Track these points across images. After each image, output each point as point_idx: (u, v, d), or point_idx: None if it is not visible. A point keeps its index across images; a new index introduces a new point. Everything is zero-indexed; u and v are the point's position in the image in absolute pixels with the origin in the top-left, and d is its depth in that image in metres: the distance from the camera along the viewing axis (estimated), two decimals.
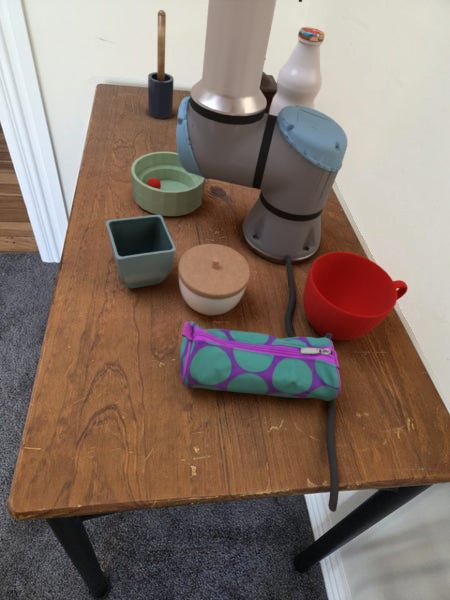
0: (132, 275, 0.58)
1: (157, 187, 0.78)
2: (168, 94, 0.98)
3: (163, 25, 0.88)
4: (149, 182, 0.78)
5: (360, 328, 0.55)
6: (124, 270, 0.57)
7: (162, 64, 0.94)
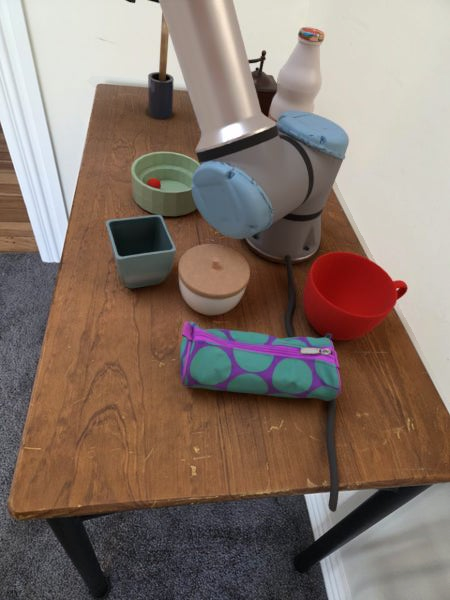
0: (132, 275, 0.58)
1: (157, 187, 0.78)
2: (168, 94, 0.98)
3: None
4: (149, 182, 0.78)
5: (360, 328, 0.55)
6: (124, 270, 0.57)
7: (164, 62, 0.95)
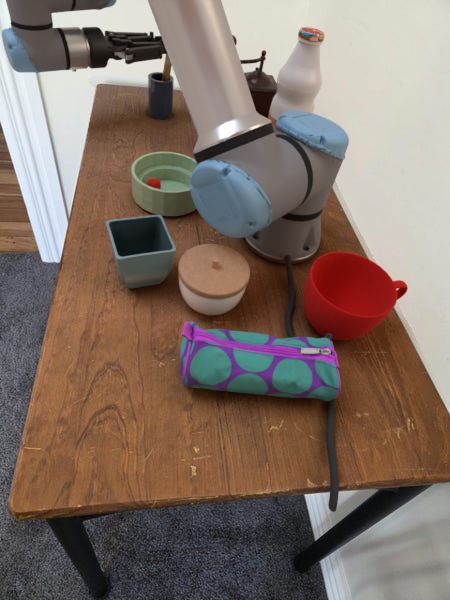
0: (132, 275, 0.58)
1: (157, 187, 0.78)
2: (168, 94, 0.98)
3: None
4: (149, 182, 0.78)
5: (360, 328, 0.55)
6: (124, 270, 0.57)
7: (169, 64, 0.95)
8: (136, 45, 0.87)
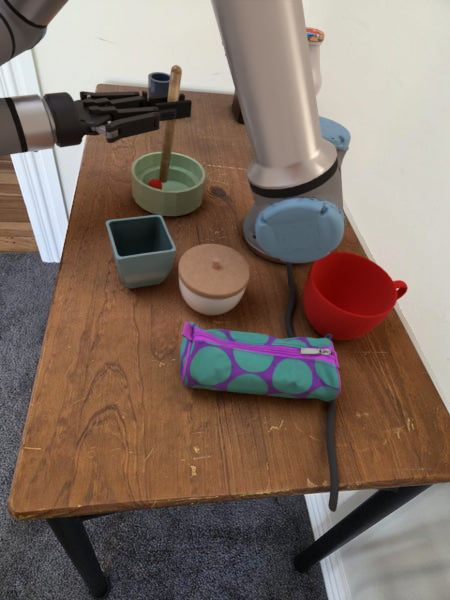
0: (132, 275, 0.58)
1: None
2: None
3: (178, 84, 0.65)
4: (151, 183, 0.77)
5: (360, 328, 0.55)
6: (124, 270, 0.57)
7: (172, 131, 0.70)
8: (123, 114, 0.62)
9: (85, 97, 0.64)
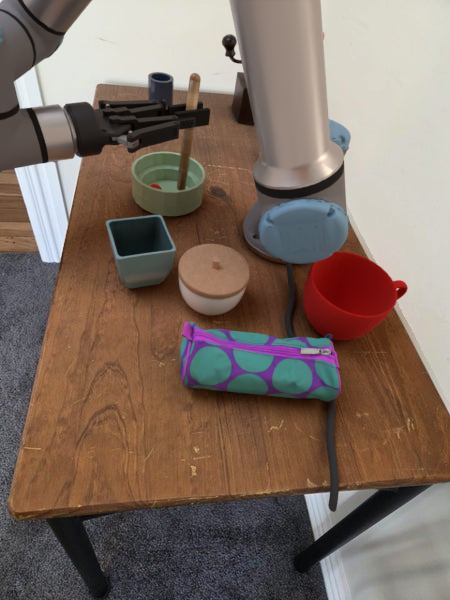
0: (132, 275, 0.58)
1: None
2: (168, 94, 0.98)
3: (197, 92, 0.64)
4: None
5: (360, 328, 0.55)
6: (124, 270, 0.57)
7: (190, 139, 0.70)
8: (143, 123, 0.61)
9: (104, 106, 0.64)
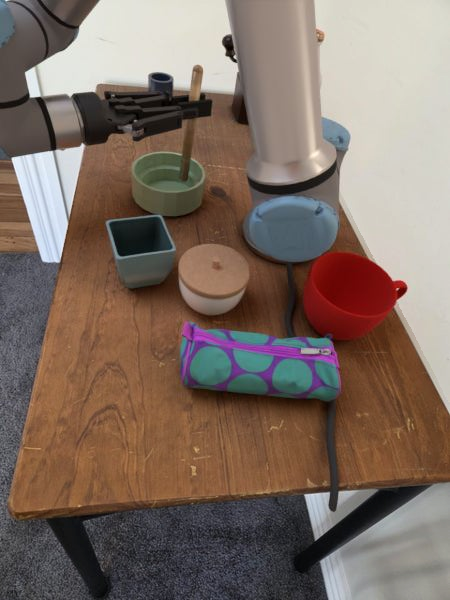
0: (132, 275, 0.58)
1: None
2: None
3: (200, 83, 0.66)
4: None
5: (360, 328, 0.55)
6: (124, 270, 0.57)
7: (193, 130, 0.72)
8: (147, 113, 0.63)
9: (109, 96, 0.66)
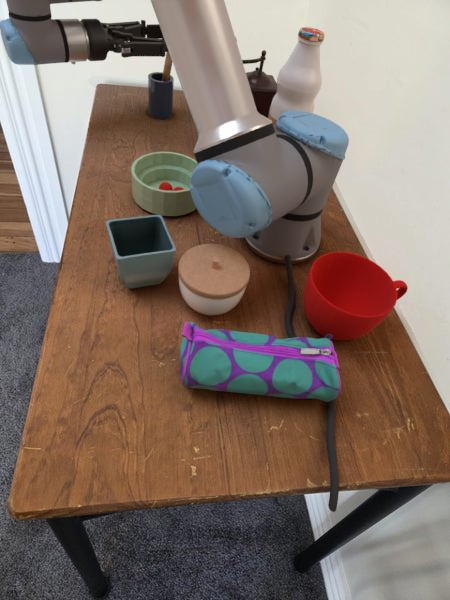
0: (132, 275, 0.58)
1: None
2: (168, 94, 0.98)
3: None
4: (162, 183, 0.78)
5: (360, 328, 0.55)
6: (124, 270, 0.57)
7: (170, 65, 0.95)
8: (136, 40, 0.85)
9: (104, 27, 0.88)
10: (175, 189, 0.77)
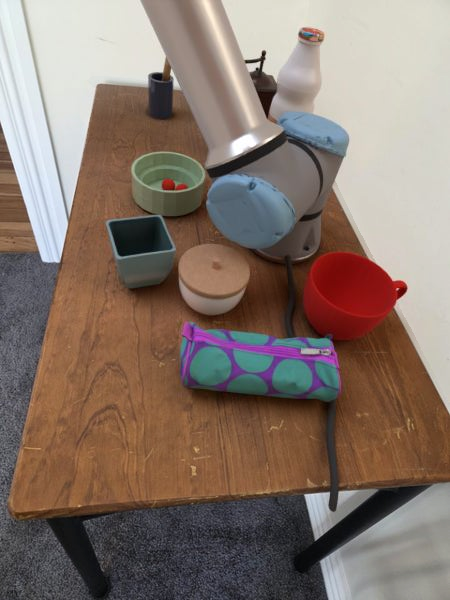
0: (132, 275, 0.58)
1: (164, 184, 0.78)
2: (168, 94, 0.98)
3: None
4: None
5: (360, 328, 0.55)
6: (124, 270, 0.57)
7: None
8: None
9: None
10: (181, 184, 0.79)
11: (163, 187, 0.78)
